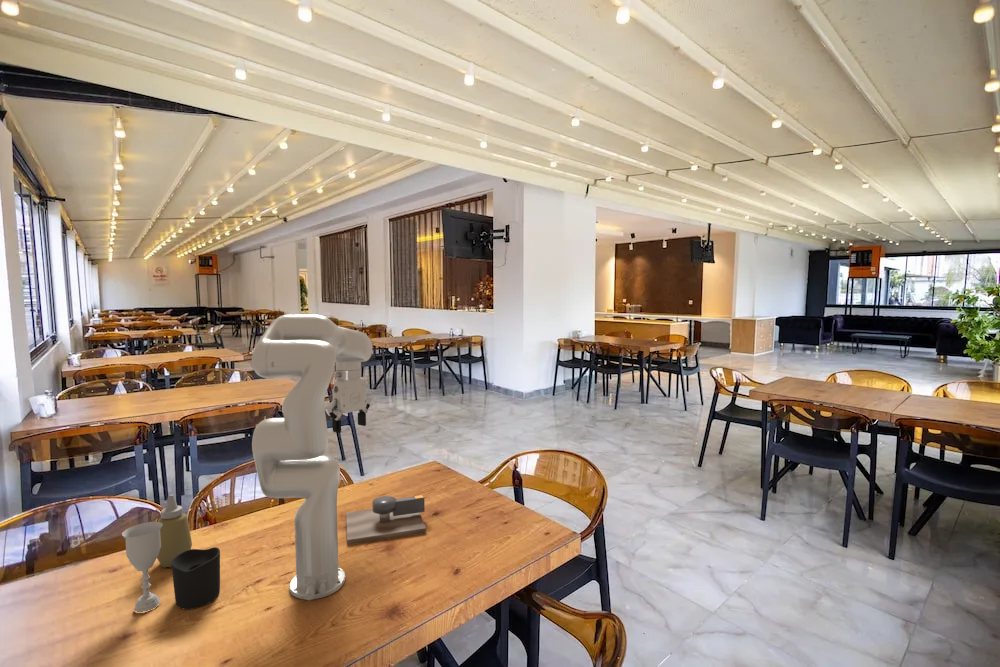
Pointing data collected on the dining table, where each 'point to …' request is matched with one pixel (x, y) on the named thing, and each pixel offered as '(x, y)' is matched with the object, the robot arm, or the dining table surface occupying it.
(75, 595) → the dining table surface
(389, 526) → the board
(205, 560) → the pen holder
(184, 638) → the dining table surface
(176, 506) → the squeeze bottle
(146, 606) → the chalice
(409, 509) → the grey knob lever
